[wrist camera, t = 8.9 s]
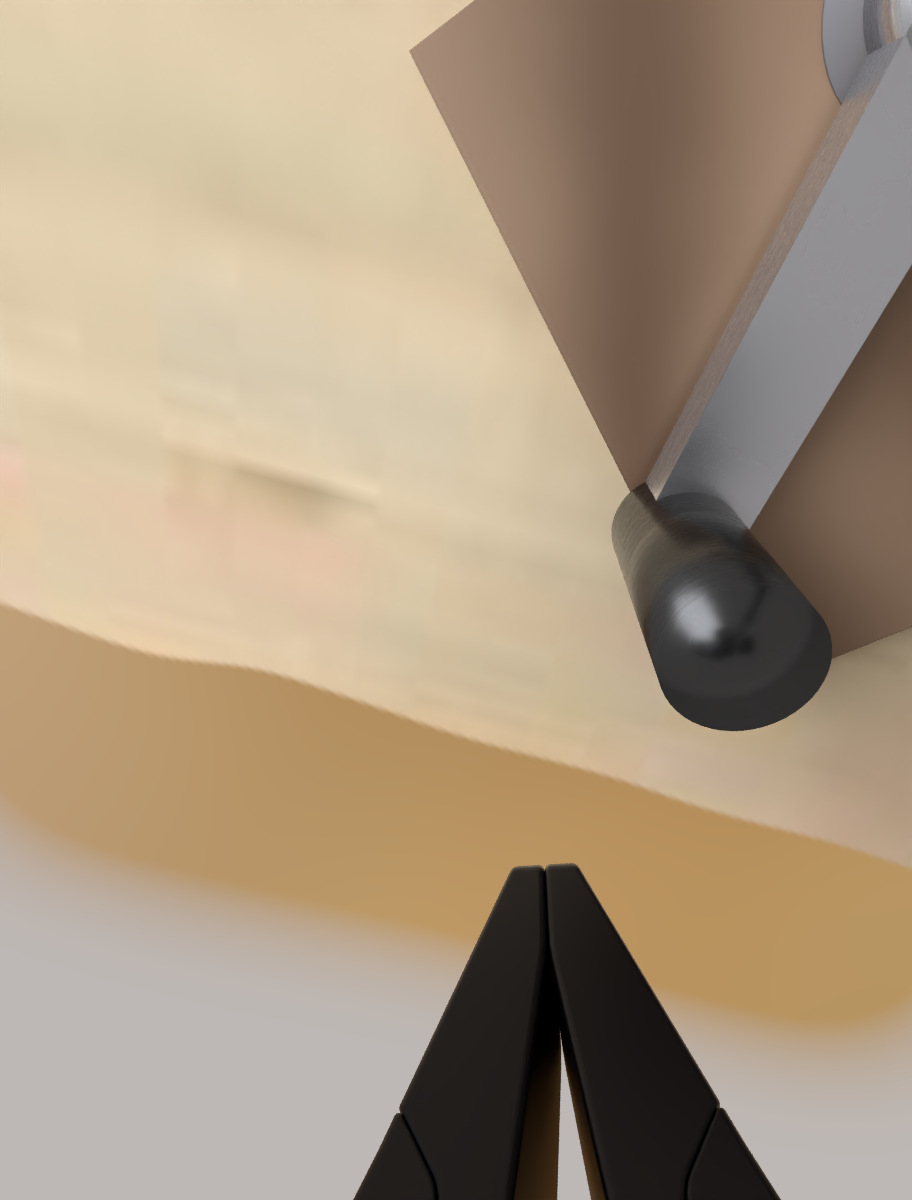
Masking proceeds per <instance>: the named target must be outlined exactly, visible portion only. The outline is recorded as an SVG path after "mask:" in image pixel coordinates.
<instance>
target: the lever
mask: <svg viewBox="0 0 912 1200" xmlns="http://www.w3.org/2000/svg"><path fill="white" fill-rule="evenodd" d="M863 32H864V41H865V45H866V49H867V54H868V55H867V57H866V59H865V61H864V63H863V65H862V67H861V69H860V71H859V73H858V74H857V76H856V78H855V80H854V82H853V84H852V86H851V88H850V90H849V92H848V94H847V96H846V98H845V99H844V101H843V103H842V105H841V107H840V109H839V111H838V113H837V115H836V117H835V119H834V121H833V123H832V124H831V126H830V128H829V130H828V132H827V134H826V136H825V138H824V140H823V142H822V144H821V146H820V147H819V149H818V151H817V153H816V155H815V157H814V159H813V161H812V163H811V165H810V167H809V169H808V171H807V172H806V174H805V176H804V178H803V180H802V182H801V184H800V186H799V188H798V190H797V192H796V194H795V195H794V197H793V199H792V201H791V203H790V205H789V207H788V209H787V211H786V213H785V215H784V217H783V219H782V220H781V222H780V224H779V226H778V228H777V230H776V232H775V234H774V236H773V238H772V240H771V242H770V244H769V245H768V247H767V249H766V251H765V253H764V255H763V257H762V259H761V261H760V263H759V265H758V267H757V268H756V270H755V272H754V274H753V276H752V278H751V280H750V282H749V284H748V286H747V288H746V290H745V292H744V293H743V295H742V297H741V299H740V301H739V303H738V305H737V307H736V309H735V311H734V313H733V315H732V316H731V318H730V320H729V322H728V324H727V326H726V328H725V330H724V332H723V334H722V336H721V338H720V340H719V341H718V343H717V345H716V347H715V349H714V351H713V353H712V355H711V357H710V359H709V361H708V363H707V365H706V366H705V368H704V370H703V372H702V374H701V376H700V378H699V380H698V382H697V384H696V386H695V388H694V389H693V391H692V393H691V395H690V397H689V399H688V401H687V403H686V405H685V407H684V409H683V411H682V413H681V414H680V416H679V418H678V420H677V422H676V424H675V426H674V428H673V430H672V432H671V434H670V436H669V438H668V439H667V441H666V443H665V445H664V447H663V449H662V451H661V453H660V455H659V457H658V459H657V461H656V462H655V464H654V466H653V468H652V470H651V472H650V474H649V476H648V478H647V480H646V482H644V483H642V484H641V485H639V486H638V487H636V488H635V489H634V490H633V491H631V492H630V493H629V494H628V495H627V496H626V498H625V499H624V500H623V501H622V503H621V504H620V506H619V508H618V510H617V512H616V514H615V517H614V520H613V525H612V542H613V546H614V549H615V552H616V555H617V558H618V561H619V564H620V567H621V570H622V573H623V576H624V579H625V582H626V585H627V588H628V591H629V594H630V597H631V600H632V603H633V606H634V609H635V612H636V615H637V618H638V621H639V624H640V627H641V630H642V633H643V636H644V639H645V642H646V645H647V647H648V650H649V653H650V656H651V659H652V662H653V665H654V668H655V671H656V674H657V677H658V680H659V683H660V686H661V689H662V691H663V693H664V695H665V697H666V699H667V700H668V702H669V703H670V704H671V705H672V707H673V708H674V709H675V710H676V711H677V712H679V713H680V714H681V715H682V716H684V717H685V718H687V719H689V720H690V721H692V722H694V723H696V724H699V725H701V726H704V727H708V728H711V729H717V730H724V731H744V730H751V729H756V728H760V727H764V726H767V725H770V724H773V723H776V722H778V721H780V720H782V719H784V718H786V717H788V716H789V715H791V714H793V713H794V712H796V711H797V710H798V709H800V708H801V707H802V706H804V705H805V704H806V703H807V702H808V701H809V700H810V699H811V698H812V697H813V696H814V694H815V693H816V692H817V691H818V689H819V688H820V686H821V685H822V683H823V682H824V680H825V678H826V676H827V673H828V671H829V667H830V664H831V658H832V641H831V635H830V632H829V629H828V627H827V625H826V623H825V621H824V619H823V618H822V616H821V615H820V614H819V613H818V612H817V610H816V609H815V608H814V607H813V605H812V604H811V603H810V602H809V601H808V599H807V598H806V597H805V596H804V595H803V593H802V592H801V591H800V590H799V589H798V587H797V586H796V585H795V584H794V583H793V581H792V580H791V579H790V578H789V577H788V575H787V574H786V573H785V572H784V571H783V569H782V568H781V567H780V566H779V565H778V563H777V562H776V561H775V560H774V559H773V557H772V556H771V555H770V554H769V553H768V551H767V550H766V549H765V548H764V547H763V545H762V544H761V543H760V542H759V541H758V539H757V538H756V537H755V536H754V535H753V533H752V532H751V531H750V530H749V529H750V528H751V526H752V524H753V523H754V521H755V519H756V518H757V516H758V515H759V513H760V511H761V510H762V508H763V506H764V505H765V503H766V501H767V500H768V498H769V497H770V495H771V493H772V492H773V490H774V488H775V487H776V485H777V484H778V482H779V480H780V479H781V477H782V475H783V474H784V472H785V470H786V469H787V467H788V466H789V464H790V462H791V461H792V459H793V457H794V456H795V454H796V453H797V451H798V449H799V448H800V446H801V444H802V443H803V441H804V439H805V438H806V436H807V435H808V433H809V431H810V430H811V428H812V426H813V425H814V423H815V422H816V420H817V418H818V417H819V415H820V413H821V412H822V410H823V408H824V407H825V405H826V404H827V402H828V400H829V399H830V397H831V395H832V394H833V392H834V391H835V389H836V387H837V386H838V384H839V382H840V381H841V379H842V377H843V376H844V374H845V373H846V371H847V369H848V368H849V366H850V364H851V363H852V361H853V360H854V358H855V356H856V355H857V353H858V351H859V350H860V348H861V346H862V345H863V343H864V342H865V340H866V338H867V337H868V335H869V333H870V332H871V330H872V329H873V327H874V325H875V324H876V322H877V320H878V319H879V317H880V315H881V314H882V312H883V311H884V309H885V307H886V306H887V304H888V302H889V301H890V299H891V298H892V296H893V294H894V293H895V291H896V289H897V288H898V286H899V284H900V283H901V281H902V280H903V278H904V276H905V275H906V273H907V271H908V270H909V268H910V267H911V265H912V0H864V7H863Z"/></svg>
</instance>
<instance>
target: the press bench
mask: <svg viewBox="0 0 912 1200" xmlns="http://www.w3.org/2000/svg"><path fill="white" fill-rule="evenodd" d="M863 7H864V0H475V1H473V2H472V3H471V4H469V5H468V6H467V7H465V8H464V9H463V10H462V11H460V12H459V13H458V14H456V15H455V16H454V17H452V18H451V19H450V20H449V21H447V22H446V23H445V24H443V25H442V26H441V27H440V28H438V29H437V30H436V31H434V32H433V33H432V34H430V35H429V36H428V37H427V38H425V39H424V40H423V41H421V42H420V43H419V44H417V45H416V46H415V47H414V48H412V49H411V50H410V53H411V55H412V57H413V59H414V61H415V63H416V65H417V67H418V69H419V71H420V73H421V75H422V77H423V79H424V81H425V83H426V85H427V87H428V89H429V91H430V93H431V95H432V97H433V99H434V101H435V103H436V105H437V107H438V109H439V111H440V113H441V115H442V117H443V119H444V121H445V123H446V125H447V127H448V129H449V131H450V133H451V135H452V137H453V139H454V141H455V143H456V145H457V147H458V149H459V151H460V153H461V155H462V157H463V159H464V161H465V163H466V165H467V167H468V169H469V171H470V173H471V175H472V177H473V179H474V181H475V183H476V185H477V187H478V189H479V191H480V193H481V195H482V197H483V199H484V201H485V203H486V205H487V207H488V209H489V211H490V213H491V215H492V217H493V219H494V221H495V223H496V225H497V227H498V229H499V231H500V233H501V235H502V237H503V239H504V241H505V243H506V245H507V247H508V249H509V251H510V253H511V255H512V257H513V259H514V261H515V263H516V265H517V267H518V269H519V271H520V273H521V275H522V277H523V279H524V281H525V283H526V285H527V287H528V289H529V291H530V293H531V295H532V297H533V299H534V301H535V303H536V305H537V307H538V309H539V311H540V313H541V315H542V317H543V319H544V320H545V322H546V324H547V326H548V328H549V330H550V332H551V334H552V336H553V338H554V340H555V342H556V344H557V346H558V348H559V350H560V352H561V354H562V356H563V358H564V360H565V362H566V364H567V366H568V368H569V370H570V372H571V374H572V376H573V378H574V380H575V382H576V384H577V386H578V388H579V390H580V392H581V394H582V396H583V398H584V400H585V402H586V404H587V406H588V408H589V410H590V412H591V414H592V416H593V418H594V420H595V422H596V424H597V426H598V428H599V430H600V432H601V434H602V436H603V438H604V440H605V442H606V444H607V446H608V448H609V450H610V452H611V454H612V456H613V458H614V460H615V462H616V464H617V466H618V468H619V470H620V472H621V474H622V476H623V478H624V480H625V482H626V484H627V486H628V488H629V490H630V492H631V491H633V490H634V489H635V488H636V487H638V486H639V485H641V484H642V483H644V482H646V480H647V478H648V476H649V474H650V472H651V470H652V468H653V466H654V464H655V462H656V461H657V459H658V457H659V455H660V453H661V451H662V449H663V447H664V445H665V443H666V441H667V439H668V438H669V436H670V434H671V432H672V430H673V428H674V426H675V424H676V422H677V420H678V418H679V416H680V414H681V413H682V411H683V409H684V407H685V405H686V403H687V401H688V399H689V397H690V395H691V393H692V391H693V389H694V388H695V386H696V384H697V382H698V380H699V378H700V376H701V374H702V372H703V370H704V368H705V366H706V365H707V363H708V361H709V359H710V357H711V355H712V353H713V351H714V349H715V347H716V345H717V343H718V341H719V340H720V338H721V336H722V334H723V332H724V330H725V328H726V326H727V324H728V322H729V320H730V318H731V316H732V315H733V313H734V311H735V309H736V307H737V305H738V303H739V301H740V299H741V297H742V295H743V293H744V292H745V290H746V288H747V286H748V284H749V282H750V280H751V278H752V276H753V274H754V272H755V270H756V268H757V267H758V265H759V263H760V261H761V259H762V257H763V255H764V253H765V251H766V249H767V247H768V245H769V244H770V242H771V240H772V238H773V236H774V234H775V232H776V230H777V228H778V226H779V224H780V222H781V220H782V219H783V217H784V215H785V213H786V211H787V209H788V207H789V205H790V203H791V201H792V199H793V197H794V195H795V194H796V192H797V190H798V188H799V186H800V184H801V182H802V180H803V178H804V176H805V174H806V172H807V171H808V169H809V167H810V165H811V163H812V161H813V159H814V157H815V155H816V153H817V151H818V149H819V147H820V146H821V144H822V142H823V140H824V138H825V136H826V134H827V132H828V130H829V128H830V126H831V124H832V123H833V121H834V119H835V117H836V115H837V113H838V111H839V109H840V107H841V105H842V103H843V101H844V99H845V98H846V96H847V94H848V92H849V90H850V88H851V86H852V84H853V82H854V80H855V78H856V76H857V74H858V73H859V71H860V69H861V67H862V65H863V63H864V61H865V59H866V57H867V55H868V54H867V49H866V45H865V41H864V32H863ZM749 530H750V531H751V532H752V533H753V535H754V536H755V537H756V538H757V539H758V541H759V542H760V543H761V544H762V545H763V547H764V548H765V549H766V550H767V551H768V553H769V554H770V555H771V556H772V557H773V559H774V560H775V561H776V562H777V563H778V565H779V566H780V567H781V568H782V569H783V571H784V572H785V573H786V574H787V575H788V577H789V578H790V579H791V580H792V581H793V583H794V584H795V585H796V586H797V587H798V589H799V590H800V591H801V592H802V593H803V595H804V596H805V597H806V598H807V599H808V601H809V602H810V603H811V604H812V605H813V607H814V608H815V609H816V610H817V612H818V613H819V614H820V615H821V616H822V618H823V619H824V621H825V623H826V625H827V627H828V629H829V632H830V635H831V641H832V658H835V657H837V656H840V655H842V654H845V653H847V652H850V651H852V650H855V649H857V648H860V647H862V646H865V645H867V644H870V643H872V642H874V641H877V640H879V639H882V638H884V637H887V636H889V635H892V634H894V633H897V632H899V631H902V630H904V629H907V628H909V627H912V265H911V267H910V268H909V270H908V271H907V273H906V275H905V276H904V278H903V280H902V281H901V283H900V284H899V286H898V288H897V289H896V291H895V293H894V294H893V296H892V298H891V299H890V301H889V302H888V304H887V306H886V307H885V309H884V311H883V312H882V314H881V315H880V317H879V319H878V320H877V322H876V324H875V325H874V327H873V329H872V330H871V332H870V333H869V335H868V337H867V338H866V340H865V342H864V343H863V345H862V346H861V348H860V350H859V351H858V353H857V355H856V356H855V358H854V360H853V361H852V363H851V364H850V366H849V368H848V369H847V371H846V373H845V374H844V376H843V377H842V379H841V381H840V382H839V384H838V386H837V387H836V389H835V391H834V392H833V394H832V395H831V397H830V399H829V400H828V402H827V404H826V405H825V407H824V408H823V410H822V412H821V413H820V415H819V417H818V418H817V420H816V422H815V423H814V425H813V426H812V428H811V430H810V431H809V433H808V435H807V436H806V438H805V439H804V441H803V443H802V444H801V446H800V448H799V449H798V451H797V453H796V454H795V456H794V457H793V459H792V461H791V462H790V464H789V466H788V467H787V469H786V470H785V472H784V474H783V475H782V477H781V479H780V480H779V482H778V484H777V485H776V487H775V488H774V490H773V492H772V493H771V495H770V497H769V498H768V500H767V501H766V503H765V505H764V506H763V508H762V510H761V511H760V513H759V515H758V516H757V518H756V519H755V521H754V523H753V524H752V526H751V528H750V529H749ZM832 658H831V659H832Z"/></svg>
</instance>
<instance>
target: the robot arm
mask: <svg viewBox="0 0 912 1200" xmlns="http://www.w3.org/2000/svg"><path fill="white" fill-rule="evenodd" d="M560 1033H561V1037H560ZM561 1040H562V1047H563V1053H564V1060H565V1065H566V1072H567V1077H568V1082H569V1087H570V1092H571V1097H572V1103H573V1107H574V1112H575V1118H576V1123H577V1129H578V1134H579V1139H580V1144H581V1149H582V1155H583V1160H584V1165H585V1170H586V1175H587V1180H588V1185H589V1191H590V1196H591V1200H781V1199H780V1198H779V1196H778V1194H777V1193H776V1191H775V1190H774V1188H773V1187H772V1185H771V1183H770V1182H769V1180H768V1179H767V1177H766V1176H765V1174H764V1172H763V1171H762V1169H761V1168H760V1166H759V1165H758V1163H757V1161H756V1160H755V1159H754V1157H753V1155H752V1154H751V1152H750V1151H749V1149H748V1147H747V1146H746V1144H745V1143H744V1141H743V1139H742V1138H741V1136H740V1134H739V1133H738V1131H737V1130H736V1128H735V1126H734V1124H733V1123H732V1121H731V1120H730V1118H729V1116H728V1114H727V1113H726V1111H725V1110H724V1109H723V1108H720V1103H719V1100H718V1098H717V1097H716V1095H715V1094H714V1092H713V1090H712V1088H711V1087H710V1085H709V1083H708V1082H707V1080H706V1079H705V1077H704V1075H703V1073H702V1072H701V1070H700V1068H699V1067H698V1065H697V1064H696V1062H695V1060H694V1058H693V1057H692V1055H691V1053H690V1052H689V1050H688V1048H687V1047H686V1045H685V1043H684V1042H683V1040H682V1038H681V1037H680V1035H679V1033H678V1032H677V1030H676V1028H675V1027H674V1025H673V1023H672V1022H671V1020H670V1018H669V1017H668V1015H667V1013H666V1012H665V1010H664V1008H663V1007H662V1005H661V1003H660V1002H659V1000H658V998H657V997H656V995H655V993H654V992H653V990H652V988H651V987H650V985H649V983H648V982H647V980H646V978H645V977H644V975H643V973H642V972H641V970H640V968H639V967H638V965H637V963H636V962H635V960H634V958H633V957H632V955H631V953H630V952H629V950H628V948H627V947H626V945H625V943H624V942H623V940H622V938H621V937H620V935H619V933H618V932H617V930H616V928H615V927H614V925H613V923H612V922H611V920H610V918H609V917H608V915H607V913H606V912H605V910H604V908H603V907H602V905H601V903H600V902H599V900H598V898H597V897H596V895H595V893H594V892H593V891H592V888H591V887H590V885H589V883H588V882H587V880H586V878H585V877H584V875H583V873H582V872H581V870H580V868H579V867H578V866H577V865H576V864H574V863H569V864H568V863H566V864H550V865H548V866H547V867H546V868H545V870H544V868H543V867H542V866H540V865H533V866H518V867H514V868H513V869H512V870H511V872H510V873H509V875H508V878H507V880H506V882H505V884H504V886H503V888H502V890H501V893H500V894H499V897H498V899H497V901H496V903H495V905H494V907H493V909H492V912H491V914H490V916H489V918H488V920H487V922H486V924H485V926H484V929H483V931H482V933H481V935H480V937H479V939H478V941H477V944H476V945H475V947H474V950H473V952H472V954H471V956H470V958H469V960H468V962H467V964H466V967H465V969H464V971H463V973H462V975H461V977H460V980H459V981H458V984H457V986H456V988H455V990H454V992H453V994H452V996H451V998H450V1000H449V1003H448V1005H447V1007H446V1009H445V1011H444V1013H443V1015H442V1017H441V1019H440V1022H439V1024H438V1026H437V1028H436V1030H435V1032H434V1034H433V1036H432V1039H431V1041H430V1043H429V1045H428V1047H427V1049H426V1051H425V1053H424V1056H423V1058H422V1060H421V1062H420V1064H419V1066H418V1068H417V1070H416V1072H415V1075H414V1077H413V1079H412V1081H411V1083H410V1085H409V1087H408V1089H407V1092H406V1094H405V1096H404V1098H403V1100H402V1102H401V1104H400V1107H399V1109H400V1113H401V1114H400V1113H397V1114H396V1115H395V1116H394V1118H393V1121H392V1123H391V1125H390V1127H389V1129H388V1131H387V1133H386V1135H385V1137H384V1140H383V1142H382V1144H381V1146H380V1148H379V1150H378V1152H377V1154H376V1156H375V1158H374V1160H373V1162H372V1164H371V1166H370V1168H369V1170H368V1172H367V1174H366V1176H365V1178H364V1180H363V1182H362V1184H361V1186H360V1187H359V1190H358V1191H357V1193H356V1195H355V1198H354V1199H353V1200H557V1187H558V1184H557V1183H558V1154H559V1120H560V1090H561Z"/></svg>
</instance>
